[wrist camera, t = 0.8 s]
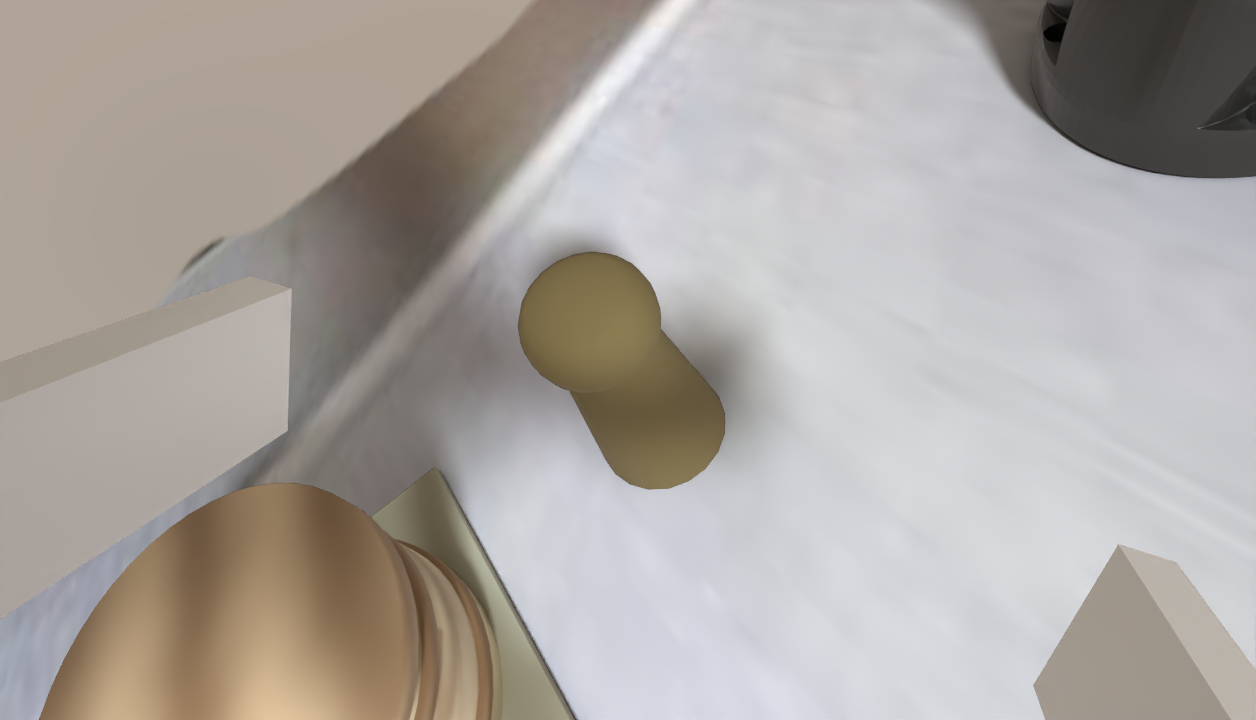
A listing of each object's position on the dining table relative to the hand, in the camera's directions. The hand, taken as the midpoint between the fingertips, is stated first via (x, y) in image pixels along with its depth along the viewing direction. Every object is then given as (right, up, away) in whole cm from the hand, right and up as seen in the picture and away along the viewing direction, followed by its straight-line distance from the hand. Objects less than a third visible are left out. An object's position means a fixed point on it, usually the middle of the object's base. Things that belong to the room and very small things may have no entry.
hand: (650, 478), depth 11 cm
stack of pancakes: (-12, -14, +20) cm, 27 cm away
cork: (+1, -1, +23) cm, 23 cm away
